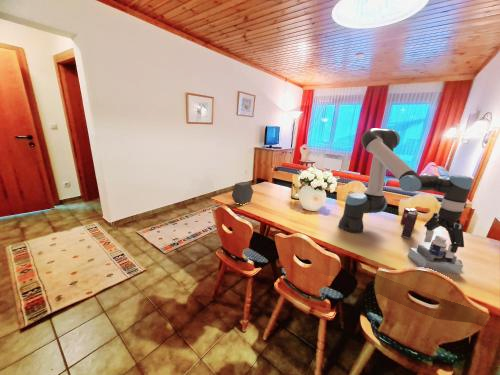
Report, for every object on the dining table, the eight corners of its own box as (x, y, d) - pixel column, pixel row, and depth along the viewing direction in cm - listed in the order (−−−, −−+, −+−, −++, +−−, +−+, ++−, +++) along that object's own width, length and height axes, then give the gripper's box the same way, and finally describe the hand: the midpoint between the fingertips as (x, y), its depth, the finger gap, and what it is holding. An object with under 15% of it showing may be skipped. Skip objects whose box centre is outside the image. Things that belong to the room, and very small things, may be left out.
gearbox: (423, 270, 98) (428, 256, 96) (407, 255, 109) (411, 242, 107) (468, 275, 96) (474, 260, 94) (447, 259, 108) (452, 246, 106)
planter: (248, 193, 184) (240, 176, 170) (255, 195, 180) (248, 178, 166) (237, 207, 176) (229, 191, 162) (244, 210, 171) (236, 193, 158)
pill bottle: (425, 252, 104) (430, 235, 101) (434, 252, 104) (440, 235, 102) (435, 258, 99) (441, 240, 96) (445, 258, 99) (451, 240, 96)
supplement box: (410, 239, 127) (417, 215, 123) (400, 236, 130) (407, 213, 126) (411, 234, 133) (418, 212, 129) (402, 232, 136) (409, 209, 132)
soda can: (414, 227, 144) (419, 211, 141) (403, 226, 145) (407, 210, 142) (409, 223, 151) (413, 208, 147) (398, 221, 152) (402, 206, 149)
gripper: (487, 221, 82) (469, 266, 88) (438, 200, 106) (426, 237, 112) (467, 219, 83) (450, 264, 89) (423, 199, 107) (412, 235, 113)
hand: (437, 249), depth 101 cm, fingers open, 13 cm apart
